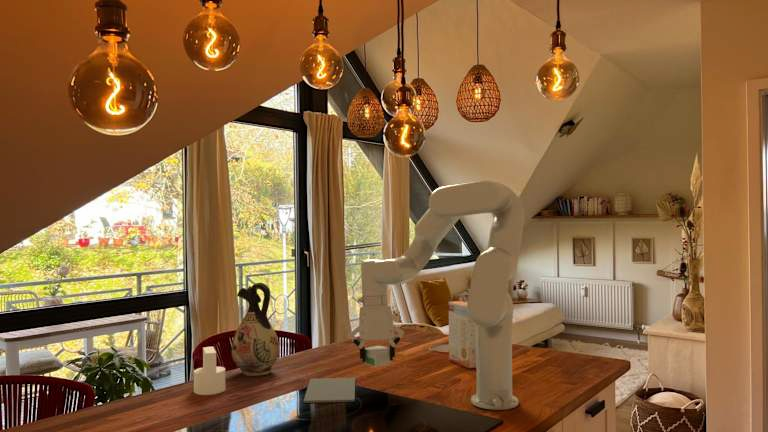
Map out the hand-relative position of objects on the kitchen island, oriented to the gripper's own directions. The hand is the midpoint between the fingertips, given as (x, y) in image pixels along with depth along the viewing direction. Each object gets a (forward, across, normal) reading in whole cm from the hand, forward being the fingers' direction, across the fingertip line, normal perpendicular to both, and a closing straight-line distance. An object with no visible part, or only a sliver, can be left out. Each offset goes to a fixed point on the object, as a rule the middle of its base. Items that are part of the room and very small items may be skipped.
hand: (377, 360), depth 173 cm
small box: (+1, 0, 0) cm, 1 cm away
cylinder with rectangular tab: (+7, -50, +2) cm, 51 cm away
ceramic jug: (+7, -39, +20) cm, 45 cm away
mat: (+8, -14, 0) cm, 16 cm away
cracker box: (+9, +31, +28) cm, 42 cm away
